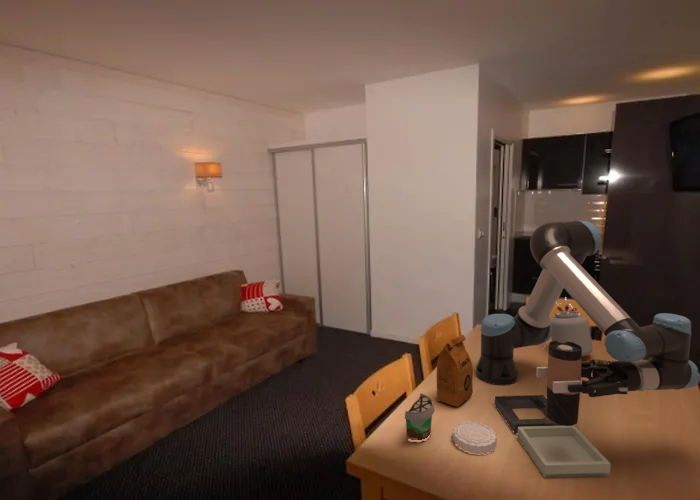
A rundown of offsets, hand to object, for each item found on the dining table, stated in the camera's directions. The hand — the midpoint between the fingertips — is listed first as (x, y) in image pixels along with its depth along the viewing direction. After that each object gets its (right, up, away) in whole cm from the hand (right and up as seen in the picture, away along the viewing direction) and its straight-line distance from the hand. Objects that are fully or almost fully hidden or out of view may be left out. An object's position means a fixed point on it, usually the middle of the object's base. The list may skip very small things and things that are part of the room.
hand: (545, 379), depth 100 cm
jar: (+43, -11, +67) cm, 80 cm away
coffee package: (-14, -18, +34) cm, 41 cm away
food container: (-29, -21, +14) cm, 39 cm away
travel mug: (+5, -11, +2) cm, 12 cm away
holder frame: (+6, -19, +21) cm, 29 cm away
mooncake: (-15, -22, +10) cm, 28 cm away
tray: (+6, -21, +3) cm, 22 cm away
